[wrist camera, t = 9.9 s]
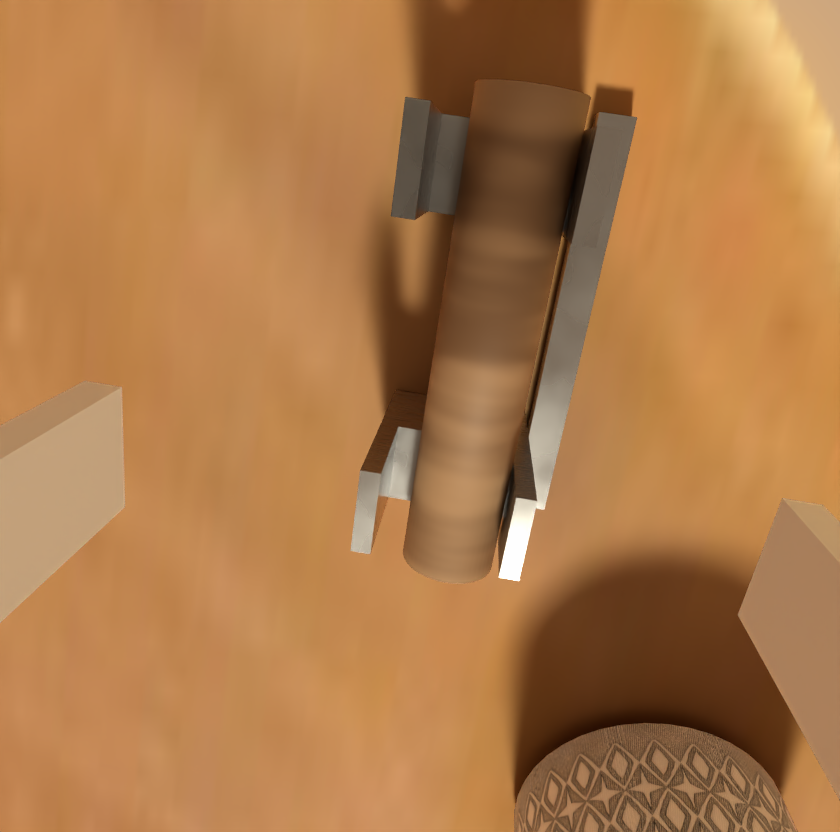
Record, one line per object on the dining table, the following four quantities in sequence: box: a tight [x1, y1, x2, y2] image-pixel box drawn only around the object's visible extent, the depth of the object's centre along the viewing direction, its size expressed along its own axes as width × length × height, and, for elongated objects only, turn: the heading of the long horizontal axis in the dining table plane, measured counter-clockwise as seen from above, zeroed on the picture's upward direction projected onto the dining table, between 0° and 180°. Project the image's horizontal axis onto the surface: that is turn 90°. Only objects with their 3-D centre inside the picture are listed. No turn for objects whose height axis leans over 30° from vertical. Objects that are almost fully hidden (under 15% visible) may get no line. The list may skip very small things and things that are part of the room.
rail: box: [403, 79, 591, 584], centre depth 26 cm, size 19×4×4 cm, turn 172°
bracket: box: [351, 97, 637, 581], centre depth 28 cm, size 19×9×10 cm, turn 172°
